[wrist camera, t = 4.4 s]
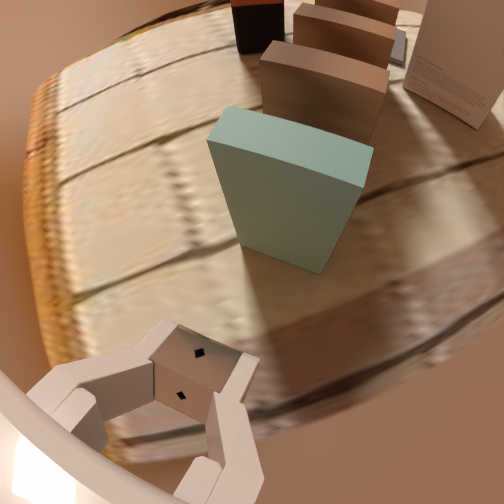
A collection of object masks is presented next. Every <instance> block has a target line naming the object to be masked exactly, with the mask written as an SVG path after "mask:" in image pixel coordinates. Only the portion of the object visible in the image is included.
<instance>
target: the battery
mask: <svg viewBox="0 0 504 504" xmlns="http://www.w3.org/2000/svg"><path fill="white" fill-rule="evenodd" d="M230 1H231V8H232V15H233V22H234V28H235V35H236V43H237V49H238V52H239V53H240V54H248V53H259V52H265V51H266V49H267V48H268V47H269V45H270V44H271V43H272V41H273V40H275V41H281V42H285V32H284V0H230Z"/></svg>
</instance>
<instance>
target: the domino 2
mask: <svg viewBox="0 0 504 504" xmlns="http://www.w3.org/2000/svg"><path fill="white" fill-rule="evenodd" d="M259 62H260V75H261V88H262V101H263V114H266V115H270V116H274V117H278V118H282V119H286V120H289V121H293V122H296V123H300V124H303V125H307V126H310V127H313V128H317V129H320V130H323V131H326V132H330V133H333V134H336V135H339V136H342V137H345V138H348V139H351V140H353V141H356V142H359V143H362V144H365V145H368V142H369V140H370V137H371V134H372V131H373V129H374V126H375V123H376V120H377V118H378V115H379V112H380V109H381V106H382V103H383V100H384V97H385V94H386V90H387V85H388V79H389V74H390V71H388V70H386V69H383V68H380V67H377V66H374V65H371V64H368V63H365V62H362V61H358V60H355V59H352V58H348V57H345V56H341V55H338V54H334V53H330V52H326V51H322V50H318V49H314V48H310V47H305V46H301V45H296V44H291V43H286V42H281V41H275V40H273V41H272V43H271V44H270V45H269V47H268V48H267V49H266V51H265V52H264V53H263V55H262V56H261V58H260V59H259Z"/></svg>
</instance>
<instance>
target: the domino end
mask: <svg viewBox="0 0 504 504" xmlns="http://www.w3.org/2000/svg"><path fill="white" fill-rule="evenodd" d="M206 140H207V143H208V146H209V150H210V153H211V156H212V159H213V162H214V165H215V168H216V171H217V175H218V178H219V181H220V184H221V187H222V190H223V193H224V196H225V200H226V203H227V206H228V209H229V212H230V215H231V218H232V221H233V224H234V227H235V230H236V233H237V237H238V240H239V243H240V246H243V247H246V248H248V249H251V250H254V251H257V252H259V253H262V254H265V255H267V256H270V257H273V258H276V259H278V260H281V261H284V262H286V263H289V264H292V265H294V266H297V267H300V268H303V269H305V270H308V271H311V272H313V273H316V274H319V275H320V274H321V272H322V270H323V268H324V267H325V265H326V263H327V261H328V259H329V257H330V255H331V253H332V251H333V249H334V247H335V245H336V243H337V241H338V240H339V238H340V236H341V234H342V232H343V230H344V228H345V226H346V224H347V222H348V220H349V217H350V215H351V213H352V211H353V209H354V207H355V205H356V203H357V201H358V199H359V197H360V195H361V193H362V190H363V188H364V185H365V181H366V177H367V173H368V169H369V166H370V162H371V158H372V154H373V149H374V148H373V147H370V146H367V145H365V144H362V143H359V142H356V141H353V140H351V139H348V138H345V137H342V136H339V135H336V134H333V133H330V132H326V131H323V130H320V129H317V128H313V127H310V126H307V125H303V124H300V123H296V122H293V121H289V120H286V119H282V118H278V117H274V116H270V115H266V114H262V113H258V112H254V111H250V110H245V109H241V108H236V107H232V106H227V107H226V109H225V111H224V112H223V114H222V115H221V117H220V118H219V120H218V122H217V123H216V125H215V126H214V128H213V130H212V131H211V133H210V134H209V136H208V138H207V139H206Z"/></svg>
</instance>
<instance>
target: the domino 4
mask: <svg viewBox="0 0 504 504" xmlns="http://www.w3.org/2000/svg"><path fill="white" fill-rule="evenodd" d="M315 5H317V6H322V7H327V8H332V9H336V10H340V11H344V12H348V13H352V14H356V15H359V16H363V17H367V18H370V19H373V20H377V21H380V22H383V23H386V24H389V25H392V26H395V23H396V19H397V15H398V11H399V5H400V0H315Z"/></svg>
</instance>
